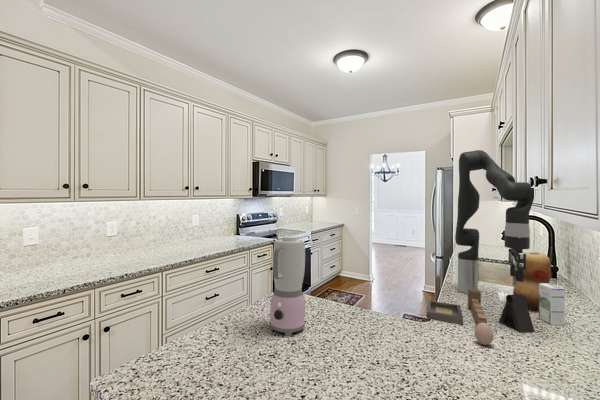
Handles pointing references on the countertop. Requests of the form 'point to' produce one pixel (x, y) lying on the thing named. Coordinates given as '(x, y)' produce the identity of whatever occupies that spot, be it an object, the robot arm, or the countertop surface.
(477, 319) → the door-edge rail
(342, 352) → the countertop surface
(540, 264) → the butternut squash
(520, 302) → the phone stand
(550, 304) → the syrup box
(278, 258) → the blender
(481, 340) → the egg
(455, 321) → the silver shallow tray
